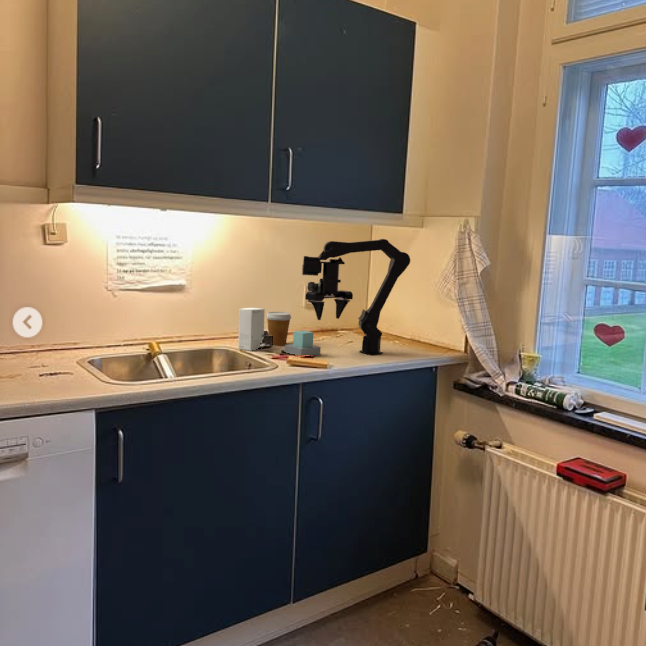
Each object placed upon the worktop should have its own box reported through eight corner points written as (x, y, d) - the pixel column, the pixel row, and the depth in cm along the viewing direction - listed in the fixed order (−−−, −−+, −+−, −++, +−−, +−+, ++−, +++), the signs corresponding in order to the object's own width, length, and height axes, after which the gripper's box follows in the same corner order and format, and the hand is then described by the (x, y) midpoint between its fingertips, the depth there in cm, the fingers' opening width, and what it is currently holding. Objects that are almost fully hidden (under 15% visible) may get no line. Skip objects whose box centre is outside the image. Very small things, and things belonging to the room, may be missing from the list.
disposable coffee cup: (292, 343, 243) (293, 312, 241) (286, 347, 234) (288, 315, 232) (268, 341, 245) (269, 310, 243) (262, 345, 235) (263, 313, 234)
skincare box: (250, 351, 223) (252, 310, 221) (237, 349, 226) (238, 308, 224) (264, 348, 230) (265, 308, 228) (250, 346, 233) (252, 306, 231)
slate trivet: (303, 350, 229) (303, 342, 229) (320, 355, 223) (320, 346, 222) (284, 353, 223) (284, 344, 223) (300, 357, 216) (301, 349, 216)
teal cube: (303, 344, 226) (304, 330, 225) (312, 346, 222) (313, 332, 221) (292, 345, 222) (293, 331, 222) (302, 347, 219) (302, 333, 218)
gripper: (333, 274, 238) (331, 315, 240) (296, 274, 225) (294, 317, 227) (354, 276, 229) (352, 318, 232) (317, 277, 217) (314, 322, 219)
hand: (328, 319), depth 228 cm, fingers open, 9 cm apart
